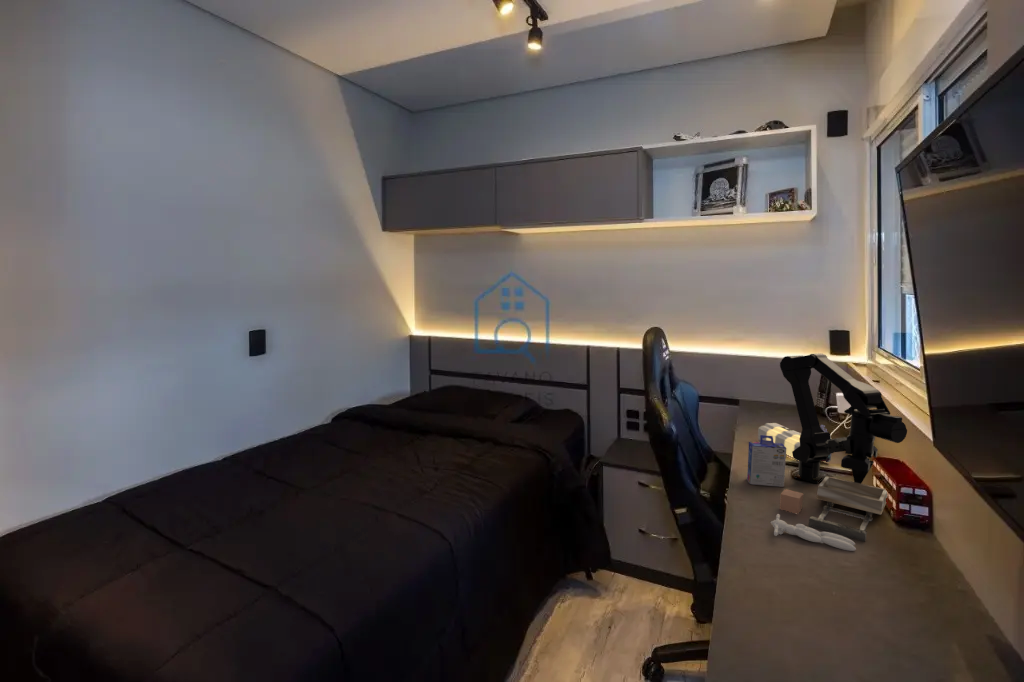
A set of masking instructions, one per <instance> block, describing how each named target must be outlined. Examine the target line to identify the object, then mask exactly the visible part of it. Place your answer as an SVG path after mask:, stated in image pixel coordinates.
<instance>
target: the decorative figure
mask: <svg viewBox="0 0 1024 682" xmlns="http://www.w3.org/2000/svg"><path fill="white" fill-rule="evenodd" d="M769 523H770V524H771V525H772V527H773V528H774V530H773V535H774V536H775V537H777V536H778V535H779V534H780V535H783V534H784V532H785V533H786V534H789V535H792V536H797V537H799V538H801V539H803V540H806V541H809V542H813V543H820V544H826V545H828V546H830V547H833V548H837V549H839V550H843V551H848V552H849V551H850V552H855V551H856V550H857V548H856V546H855V545H856V543H855V542H854V540H852V539H850V538H849V537H847V536H843V535H840V534H836V533H833V532H829V531H819V530H817V529H816V528H814V527H811V526H806V525H805V524H802V523H796V524H795V525H792V524H788V523H787V522H786V521H785V520H783V519H781V514H779V513H777V514H776V515H775V519H774V520H771V521H770V522H769Z"/></svg>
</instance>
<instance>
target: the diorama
mask: <svg viewBox="0 0 1024 682" xmlns="http://www.w3.org/2000/svg"><path fill="white" fill-rule="evenodd" d="M820 427H821V429H822V430H823V431H824V432H828V431H827V430H828V429H827V428H826V425H824V424H820ZM760 435H765V436H773V442H774V443H782V444H783V445H784V446H785V447H786V454H787V455H789V456H791V457H793V454H792V451H794V450H795V449H796V448H798V447H799V446H800V440H799V438H800V435H801V432H799V431H796V430H794V429H793V430H791V429H790V428H788V427H786V426H785V425H781V424H779V423H778V422H772V423H771V422H770V423H769V422H765V424H764V425H761V426H759V427H758V431H757V440H758V442H760ZM762 440H768V441H771V439H769V438H763V439H762ZM832 454H833V453H831V454H830V455H829V456H828V458H827V460H823V461H826V462H829V463H830V462H831V460H832Z"/></svg>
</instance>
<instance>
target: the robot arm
mask: <svg viewBox="0 0 1024 682" xmlns="http://www.w3.org/2000/svg"><path fill="white" fill-rule="evenodd" d="M779 367H780V370H781V373H782V376H783V377H784V379H786V381H787V382H788V383H789V384H790V386H791V389H792V394H793V398H794V401H795V405H796V409H797V413H798V417H799V421H800V425H801V432H800V433H801V435H800V438H799V440H800V446H799V447H798V448H796V449H795V450H794V451H792V454H793V458H794V459H796V460H799V462H798V468H797V469H798V471H797V474H799V475H800V477H801V479H804V480H806V481H805V482H809V481H810V482H809V483H813V484H818V483H819V482H818V481H815V480H813V478H816V477H818V476H820V468H821V461H823V460H827V458H828V456H829V455H830V454H831V453H832V454H834V453H840V452H844V453H845V456H843V457H842V458H841V463H840V464H841V465H840V467H841V468H844V469H849V470H851V472H852V479H853V482H856V483H861V484H863V482H864V480H865V478H866V476H867V475H868V473H869V472H870V470H871V468H872V466H873V464H874V463H875V461H874V460H870V459H871V458H872V457H873V458H877V457H878V451H879V450H878V448H877V447H876V446H875V444H874V443H875V441H876V438H878V439H881V440H886V441H889V442H890V443H891V442H893V443H896V444H900V443H901V442H903V441H904V440H905V439H906V437H907V433H908V429H907V426H906V424H905V423H904V422H903V417H902V416H897V415H891V412H890V410H889V407H888V406H887V404H886V402H885V401H884V398H883V397H882V393H881V391H880V390H879V389H878V388H876V387H874V386H872V385H870V384H868V383H865V382H862V381H859V380H858V379H856V378H854V377H853V376H851V375H850V374H849V373H848V372H846V371H845V370H843V369H842V368H841V367H840V366H839V365H837V364H836V363H835V362H833V361H832V360H831V359H829V358H828V356H827V355H826V354H824V353H810V354H808V355H786V356H784V357H782V359H781V361H780V362H779ZM812 369H814V370H815V371H816V372H818V373H819V374H820V375H822V376H823V377H824V378H825V379H826V380H827V381H828V382H830V383H831V384H832V385H834V386H835V387H836V388H837V389H839V390H840V392H841V393H842V395H843V399H844V400H845V401H846V402H847V403H848V404H849V405H850V407H849V408H846V409H845V410H844V414H846V415H847V414H848V415H851V416H850V428H849V429H850V430H849V434H848V435H847V437H838V438H837V437H836V438H832V437H831V433H830V431H827V432H824V431H823V430H824V429H823V430H822V427H821V424H820V421H819V417H818V413H817V409H816V407H815V402H814V398H813V394H812V391H811V387H810V382H809V381H810V378H811V374H812ZM846 454H847V455H846ZM794 459H793V460H794ZM796 460H795V461H796ZM796 478H797V477H795V476H794V479H796ZM804 480H803V481H804Z"/></svg>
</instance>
